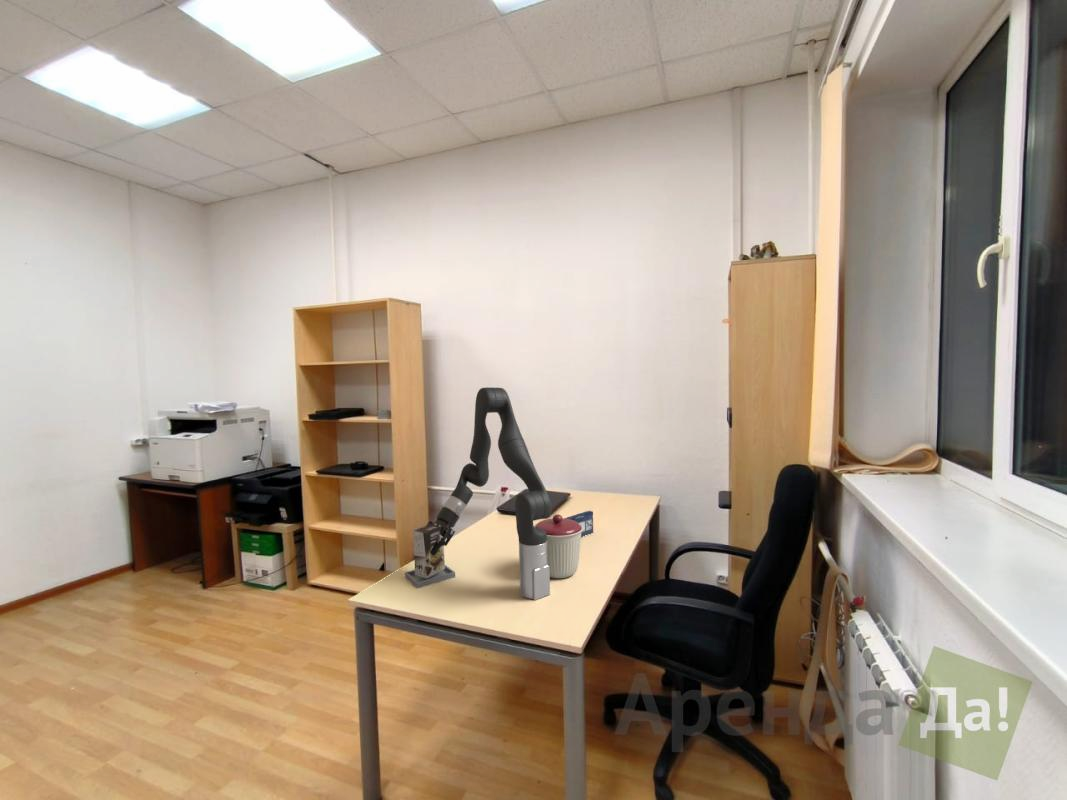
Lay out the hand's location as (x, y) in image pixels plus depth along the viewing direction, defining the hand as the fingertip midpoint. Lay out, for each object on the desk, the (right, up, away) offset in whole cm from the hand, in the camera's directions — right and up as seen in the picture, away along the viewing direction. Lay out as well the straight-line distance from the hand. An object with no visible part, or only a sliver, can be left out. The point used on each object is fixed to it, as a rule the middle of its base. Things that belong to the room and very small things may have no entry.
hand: (425, 551), depth 165 cm
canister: (+47, -9, +3) cm, 48 cm away
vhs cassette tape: (+57, -7, +38) cm, 69 cm away
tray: (+1, -10, +1) cm, 10 cm away
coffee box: (+1, -8, +1) cm, 8 cm away
